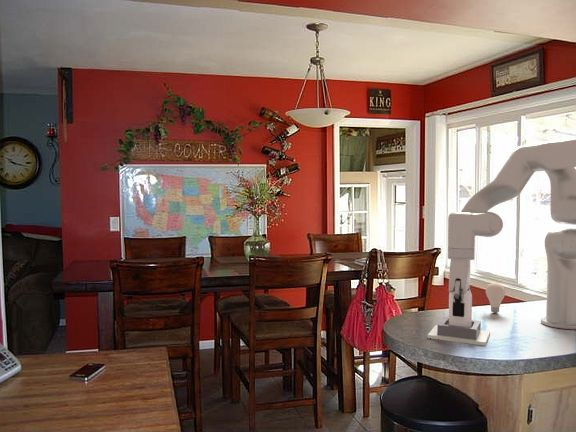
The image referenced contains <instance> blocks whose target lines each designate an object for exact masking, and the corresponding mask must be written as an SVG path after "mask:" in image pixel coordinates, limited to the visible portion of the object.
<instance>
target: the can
mask: <svg viewBox="0 0 576 432" xmlns="http://www.w3.org/2000/svg"><path fill="white" fill-rule="evenodd" d="M460 292H462V291H460ZM448 293H449V294H448V318H449V325H453V326H461V327H470V328H471V326H472V320H473V319H472V316H473V315H472V314H473V309H472V308H473V294H472V292H471V288H469V289H468V290H467V292H466V293H465V294H464V300H463V303H464V317H458V316H453V295H454V290H453V291H451V293H450V292H448Z"/></svg>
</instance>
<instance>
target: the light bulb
mask: <svg viewBox="0 0 576 432" xmlns="http://www.w3.org/2000/svg"><path fill="white" fill-rule="evenodd" d="M485 294H486V297H487V299H488V301H489V305H490V311H491V313H493V314H498V313H500V307H501V303H502V302H503V300H504V298H505V296H506V289H505V287H504V286H503V285H502V284H500V283H499V282H492V283H489V284H488V285H487V286H486V287H485Z"/></svg>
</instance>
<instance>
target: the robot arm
mask: <svg viewBox="0 0 576 432" xmlns="http://www.w3.org/2000/svg"><path fill="white" fill-rule="evenodd" d="M536 172H545V173H546V175H547V176H548V178H549V181H550V183H549V184H550V206H549V207H550V209H549V210H550V217H551V220H552V221H553V222H555V223H558V224H563V225H576V138H571V139H562V140H551V141H547V142H546V141H544V142H538V143H537V142H536V143H530V144H523V145H520V146H517V148H515V149H514V151H513V152H512V153H511V154H510V156H509V158H508V159H507V160H506V162H505V163H504V165H503V166H502V168H501V170H500V171H499V172H498V173H497V175H496V177H495V178H494V179H493V180H492V181H490V183H488V184H486V185H485V186H484V187H482V188H481V189H480V190H478V191H477V192H476V193H475V194H474V195H473V196H471V197H470V199H468V200H467V202H466V204H465V205H464V206H463V208H462V209H461V211H460V212H459V211H458V212H451V213H449V214H448V216H447V217H448V219H447V259H448V260H450V262H449V275H448V277H449V279H448V293H451V291H453V290H454V295H453V316H458V317H464V303H463V300H464V294H465V293H466V292H467V290H468V289H470V288H471V287H470V285H471V261H474V260H475V246H476V245H475V243H476V236H477V237H485V238H491V237H492V238H493V237H495V236H497V235H499V234H500V233H501V231H502V230H503V229H504V222H503V219H502V218H501V217H500V215H499V214H497V213H495V212H492V211H490V210H491V209H492V208H494V207H495V206H497V205H500V204H502V203H505V202H507V201H508V202H509V201H510V200H512V199H514V198H516V197H518V196H519V195H521V193H522V191H523V190H524V188H525V187H526V185H527V184H528V182H529V181H530V179H531V178H532V176H533V175H534V173H536ZM544 249H545V254H546V259H547V260H546V261H547V271H546V273H547V275H546V277H547V278H546V309H545V310H546V311H545V313H546V315H545V316H544V317H542V318H540V323H541V324H543V325H545V326H547V327H552V328H556V329H563V330H576V228H567V227H557V228H555V229H551V230H550V231H549V232H548V233H547V234H546V235H545V238H544ZM460 291H462V292H460Z"/></svg>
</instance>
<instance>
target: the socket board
mask: <svg viewBox="0 0 576 432" xmlns="http://www.w3.org/2000/svg"><path fill="white" fill-rule="evenodd" d="M481 323H482V321H481V320H475V319H474V320H473V319H472V326H471V328H470V327H461V326H453V325H449V316H448V317H445V316H444V317H443V318H442V319H441V320H440V321H439V322H438V324H435V325H434V326H433V327H432V329H431V330H430V331H429V332H428V334H427V339H430V338H431V339H432V340H438V339H439V340H438V341H447V342H453V343H461V344H470V345H475V346H485V347H486V345H487V343H488V341H489V338H490V335H491V331H490V330H483V329H481V327H482V325H481ZM431 339H430V340H431Z"/></svg>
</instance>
